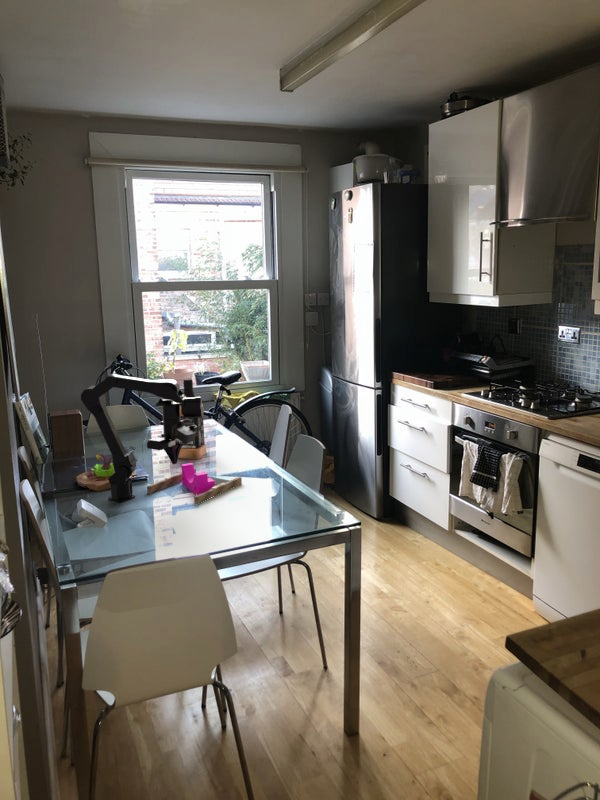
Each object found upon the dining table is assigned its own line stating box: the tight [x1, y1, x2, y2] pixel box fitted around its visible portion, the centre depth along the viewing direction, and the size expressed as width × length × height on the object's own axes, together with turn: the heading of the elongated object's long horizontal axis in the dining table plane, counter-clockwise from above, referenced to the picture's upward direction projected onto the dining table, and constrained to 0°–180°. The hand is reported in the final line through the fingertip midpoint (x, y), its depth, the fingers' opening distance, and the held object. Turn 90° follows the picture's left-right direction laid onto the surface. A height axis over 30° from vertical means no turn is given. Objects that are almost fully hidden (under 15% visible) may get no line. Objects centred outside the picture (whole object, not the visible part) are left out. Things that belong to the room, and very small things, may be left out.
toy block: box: [181, 462, 215, 496], centre depth 226 cm, size 15×6×8 cm, turn 31°
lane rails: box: [146, 467, 243, 505], centre depth 226 cm, size 24×23×3 cm
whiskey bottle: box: [178, 378, 207, 460], centre depth 264 cm, size 10×10×32 cm
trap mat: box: [208, 475, 230, 485], centre depth 234 cm, size 6×19×1 cm, turn 58°
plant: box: [75, 453, 138, 492], centre depth 235 cm, size 20×20×11 cm
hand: (174, 463), depth 216 cm, fingers closed
